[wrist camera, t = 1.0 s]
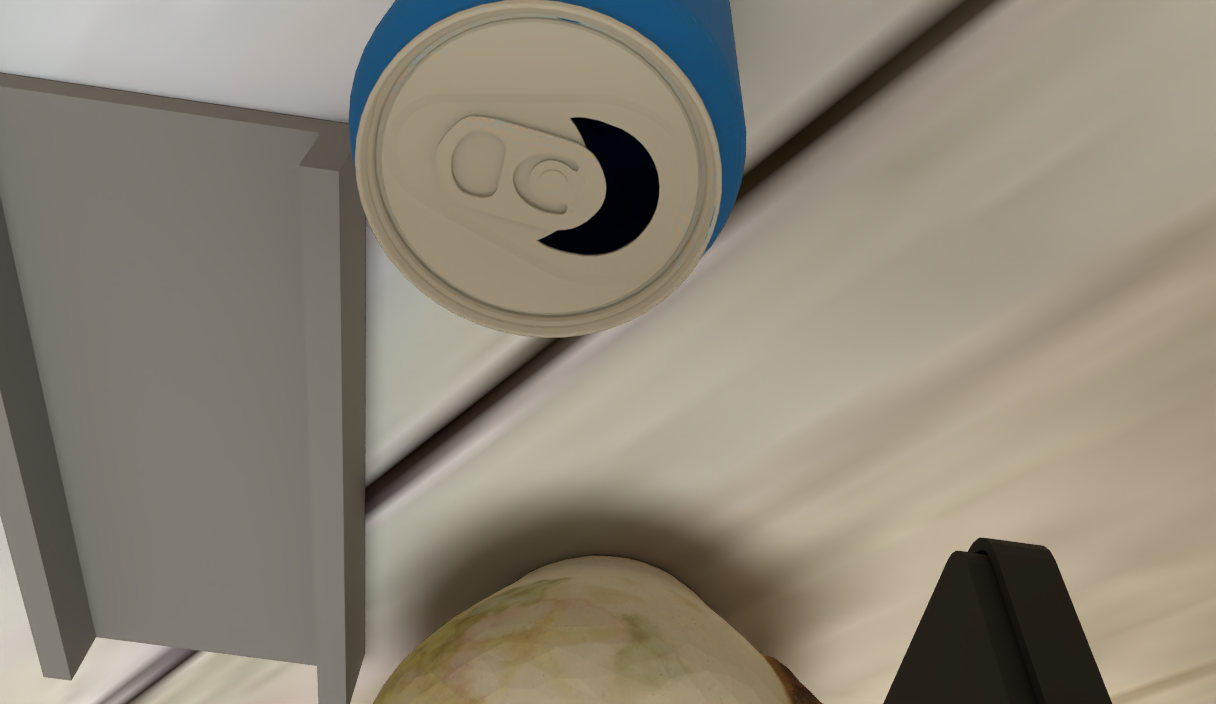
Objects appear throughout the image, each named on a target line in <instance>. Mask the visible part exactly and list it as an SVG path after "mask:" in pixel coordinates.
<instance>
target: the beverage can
mask: <svg viewBox="0 0 1216 704" xmlns="http://www.w3.org/2000/svg"><path fill="white" fill-rule="evenodd" d="M349 135H350V148H351V153H352V158H353V163H354V167H355V172H356V181H357V186H358V190H359V195H360V200H361V203H362V206H363V209H364V212H365V215H366V217H367V220H368V223H369V225H370V227H371V229H372V231H373V233H374V235H375V237H376V239H377V240H378V242H379V244H380V245H381V247H382V248H383V250H384V251H385V253H386V254H387V256H388V257H389V259H390V260H391V261H392V262H393V264H394V265H395V266H396V267H397V268H398V269H399V270H400V272H401V273H402V274H403V275H404V276H405V277H406V278H407V279H408V280H409V281H410V282H411V283H412V284H413V285H415V286H416V287H417V288H418V289H419V290H420V291H421V292H422V293H424V294H425V295H427V296H428V297H429V298H431V299H432V300H433V301H435V302H436V303H438V304H439V305H441V306H442V307H444V308H446V309H448V310H449V311H451V312H453V313H455V314H456V315H458V316H460V317H463V318H465V319H467V320H470V321H472V322H474V323H476V324H479V325H482V326H485V327H488V328H491V329H495V330H498V331H502V332H506V333H511V334H516V335H521V336H532V337H570V336H578V335H586V334H590V333H594V332H598V331H602V330H606V329H609V328H612V327H615V326H618V325H620V324H623V323H626V322H628V321H630V320H632V319H634V318H636V317H638V316H640V315H642V314H644V313H645V312H647V311H648V310H650V309H651V308H653V307H654V306H656V305H657V304H659V303H660V302H662V301H663V300H664V299H665V298H667V297H668V296H669V295H670V294H671V293H672V292H673V291H674V290H675V289H677V288H678V287H679V286H680V285H681V283H682V282H683V281H684V280H685V279H686V278H687V276H688V275H689V274H690V273H691V272H692V271H693V269H694V267H695V266H696V264H697V263H698V261H699V260H700V259H701V257H702V256H703V255H704V254H705V253H706V251H707V250H708V249H709V248H710V247H711V246H712V244H713V242H714V241H715V239H716V238H717V236H718V235H719V233H720V232H721V230H722V229H723V227H724V225H725V223H726V221H727V219H728V216H729V214H730V212H731V210H732V208H733V206H734V204H735V201H736V198H737V194H738V191H739V188H740V185H741V181H742V176H743V170H744V164H745V157H746V127H745V119H744V111H743V103H742V96H741V88H740V80H739V72H738V64H737V56H736V49H735V41H734V33H733V25H732V17H731V9H730V2H729V0H396V1H395V2H394V3H393V5H392V6H391V8H390V9H389V10H388V12H387V13H386V14H385V16H384V17H383V19H382V20H381V21H380V23H379V24H378V26H377V27H376V29H375V31H374V33H373V34H372V36H371V38H370V40H369V41H368V43H367V45H366V47H365V49H364V51H363V54H362V57H361V59H360V62H359V65H358V67H357V70H356V73H355V78H354V82H353V87H352V91H351V96H350V110H349Z"/></svg>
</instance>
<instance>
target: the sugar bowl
mask: <svg viewBox="0 0 1216 704" xmlns="http://www.w3.org/2000/svg"><path fill="white" fill-rule="evenodd" d="M373 704H822V703H821V702H820V701H819V700H818V699H817V698H816V697H815V696H814V695H813V694H812V693H811V692H810V691H809V690H808V689H807V688H806V687H805V686H804V685H803V684H802V683H800V682H799V680H798V679H797V678H796V677H795V676H794V675H793V673H792V672H791V671H790V670H789V669H788V668H787V667H786V666H784V665H783V664H782V663H780V662H779V661H777V660H776V659H774V658H773V657H769V656H766V655H762V654H760V653H759V652H758V651H757V650H756V649H755V648H754V647H753V646H752V645H751V644H750V643H749V642H748V641H747V640H746V639H745V638H744V637H743V636H742V635H741V634H740V633H738V632H737V631H736V630H735V629H734V628H733V627H732V626H731V625H729V624H728V623H727V622H726V621H725V620H724V619H723V618H721V617H720V616H719V615H718V614H716V613H715V612H714V611H713V610H712V609H710V608H709V607H708V606H707V605H706V604H705V603H704V602H703V601H702V600H701V599H700V598H699V597H698V596H697V595H696V594H695V593H694V592H693V591H692V590H690V589H689V588H688V587H686V586H685V585H684V584H682V583H681V582H680V581H679V580H677V579H676V578H675V577H673V576H672V575H670V574H669V573H667V572H665V571H663V570H661V569H659V568H657V567H654V566H651V565H649V564H646V563H644V562H640V561H637V560H633V559H629V558H621V557H613V556H584V557H578V558H571V559H565V560H562V561H558V562H555V563H552V564H549V565H545V566H543V567H540V568H538V569H536V570H534V571H531V572H529V573H528V574H526V575H525V576H524V577H522V578H521V579H519V580H518V581H516V582H515V583H513V584H511V585H509V586H507V587H505V588H503V589H501V590H499V591H498V592H496V593H494V594H492V595H491V596H489V597H487V598H485V599H484V600H482V601H480V602H478V603H476V604H475V605H473V606H471V607H470V608H468V609H467V610H465V611H463V612H462V613H460V614H458V615H457V616H455V617H453V618H452V619H451V620H450V621H448V622H447V623H446V624H444V625H443V626H442V627H441V628H439V629H438V630H437V631H435V632H434V633H433V634H432V635H430V636H429V637H428V638H426V639H425V640H424V641H423V642H422V643H421V644H420V645H419V646H418V647H416V648H415V649H414V650H413V651H412V652H411V653H410V654H409V655H408V656H407V657H406V658H405V659H404V660H403V661H402V662H401V663H400V665H399V666H398V667H397V669H396V670H395V671H394V672H393V674H392V675H391V676H390V678H389V679H388V680H387V681H386V683H385V684H384V685H383V687H382V689H381V691H380V692H379V694H378V696H377V697H376V699H375V701H374V702H373Z"/></svg>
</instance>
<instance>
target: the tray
mask: <svg viewBox="0 0 1216 704" xmlns="http://www.w3.org/2000/svg"><path fill="white" fill-rule="evenodd" d="M365 287H366V215H365V212H364V209H363V206H362V203H361V200H360V195H359V190H358V186H357V181H356V172H355V167H354V163H353V158H352V153H351V148H350V135H349V124H345V123H339V122H332V121H325V120H318V119H311V118H304V117H298V116H291V115H284V114H277V113H270V112H263V111H257V110H250V109H243V108H236V107H229V106H222V105H215V104H209V103H202V102H195V101H188V100H181V99H174V98H168V97H161V96H154V95H147V94H140V93H133V92H127V91H120V90H113V89H106V88H99V87H92V86H85V85H79V84H72V83H65V82H58V81H51V80H44V79H38V78H31V77H24V76H17V75H10V74H3V73H0V516H1V519H2V523H3V527H4V531H5V534H6V538H7V542H8V546H9V549H10V553H11V557H12V560H13V564H14V568H15V572H16V575H17V579H18V583H19V587H20V590H21V594H22V598H23V601H24V605H25V609H26V613H27V616H28V620H29V624H30V628H31V631H32V635H33V639H34V643H35V646H36V650H37V654H38V657H39V661H40V665H41V669H42V672H43V676H44V677H48V678H56V679H64V680H72V679H73V677H74V675H75V673H76V672H77V670H78V668H79V666H80V664H81V663H82V661H83V659H84V657H85V656H86V654H87V652H88V650H89V649H90V647H91V645H92V643H93V641H94V640H95V638H96V637H100V638H108V639H115V640H123V641H131V642H138V643H146V644H154V645H161V646H169V647H177V648H185V649H192V650H200V651H208V652H215V653H223V654H231V655H238V656H246V657H254V658H261V659H269V660H277V661H284V662H292V663H300V664H308V665H315V666H317V674H318V701H319V704H350V702H351V698H352V695H353V691H354V688H355V685H356V681H357V678H358V675H359V671H360V668H361V665H362V661H363V658H364V655H365Z"/></svg>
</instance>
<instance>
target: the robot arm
mask: <svg viewBox="0 0 1216 704" xmlns="http://www.w3.org/2000/svg"><path fill="white" fill-rule="evenodd" d="M883 704H1112V702H1111V700H1110V697H1109V695H1108V692H1107V689H1106V687H1105V684H1104V682H1103V679H1102V677H1101V674H1100V672H1099V669H1098V667H1097V664H1096V662H1095V659H1094V657H1093V654H1092V652H1091V649H1090V647H1089V644H1088V642H1087V639H1086V636H1085V634H1084V631H1083V629H1082V626H1081V624H1080V621H1079V619H1078V616H1077V614H1076V611H1075V609H1074V606H1073V604H1072V601H1071V599H1070V596H1069V594H1068V591H1067V588H1066V586H1065V583H1064V581H1063V578H1062V576H1061V573H1060V571H1059V568H1058V566H1057V563H1056V561H1055V559H1054V557H1053V555H1052V553H1051V552H1050V550H1048V549H1047V548H1046V547H1044V546H1041V545H1033V544H1026V543H1018V542H1011V541H1004V540H996V539H989V538H979V539H977V540H976V541H975V542H973V544H972V546H971V547H970V549H969V550H968V552H963V551H955V552H953V553H952V554H951V556H950V557H949V559H948V561H947V563H946V565H945V567H944V570H943V572H942V574H941V576H940V579H939V581H938V583H937V585H936V587H935V590H934V592H933V594H932V596H931V599H930V601H929V603H928V605H927V608H926V610H925V612H924V614H923V616H922V619H921V621H920V623H919V625H918V628H917V630H916V632H915V634H914V636H913V639H912V641H911V643H910V645H909V648H908V650H907V652H906V654H905V656H904V659H903V661H902V663H901V665H900V668H899V670H898V672H897V674H896V677H895V679H894V681H893V683H892V685H891V688H890V690H889V692H888V694H887V697H886V699H885V701H884V703H883Z"/></svg>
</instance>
